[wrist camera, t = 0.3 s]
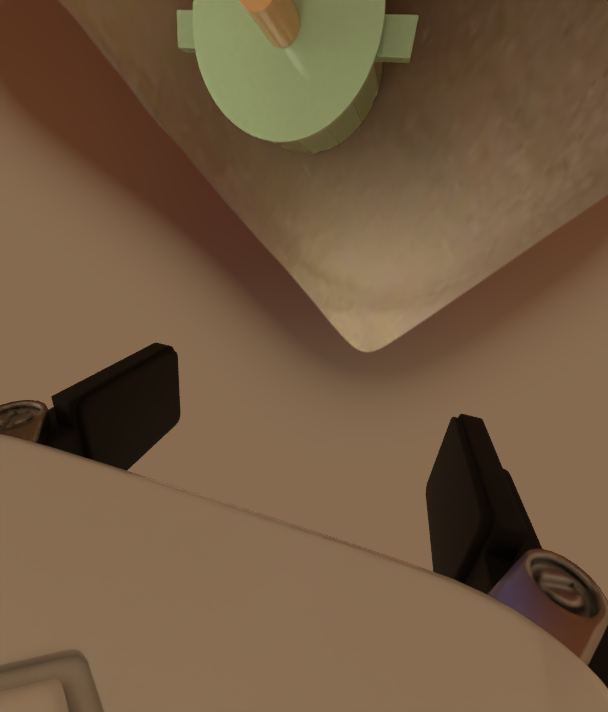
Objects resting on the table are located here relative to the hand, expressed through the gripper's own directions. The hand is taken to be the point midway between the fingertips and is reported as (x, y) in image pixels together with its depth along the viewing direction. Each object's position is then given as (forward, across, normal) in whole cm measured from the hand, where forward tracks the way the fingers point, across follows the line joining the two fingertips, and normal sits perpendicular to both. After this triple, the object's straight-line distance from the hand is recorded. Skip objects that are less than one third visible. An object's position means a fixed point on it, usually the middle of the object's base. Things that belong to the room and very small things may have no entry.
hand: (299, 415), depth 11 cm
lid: (+22, +10, -18) cm, 30 cm away
